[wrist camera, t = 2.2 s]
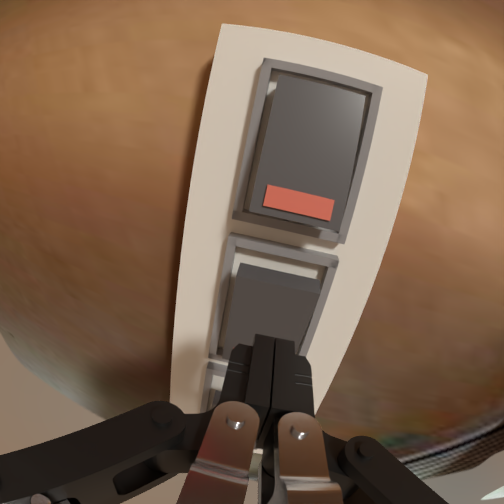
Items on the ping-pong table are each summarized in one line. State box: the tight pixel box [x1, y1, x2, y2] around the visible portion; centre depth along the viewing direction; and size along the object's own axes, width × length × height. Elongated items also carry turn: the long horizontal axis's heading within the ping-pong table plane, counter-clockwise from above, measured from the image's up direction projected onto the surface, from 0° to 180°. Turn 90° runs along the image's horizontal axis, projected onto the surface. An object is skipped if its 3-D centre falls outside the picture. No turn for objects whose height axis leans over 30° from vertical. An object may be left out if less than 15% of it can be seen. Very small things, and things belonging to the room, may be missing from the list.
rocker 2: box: [222, 262, 320, 360], centre depth 18 cm, size 4×7×1 cm, turn 169°
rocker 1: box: [249, 75, 366, 232], centre depth 15 cm, size 4×7×1 cm, turn 169°
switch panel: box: [170, 24, 428, 454], centre depth 21 cm, size 12×33×4 cm, turn 169°
